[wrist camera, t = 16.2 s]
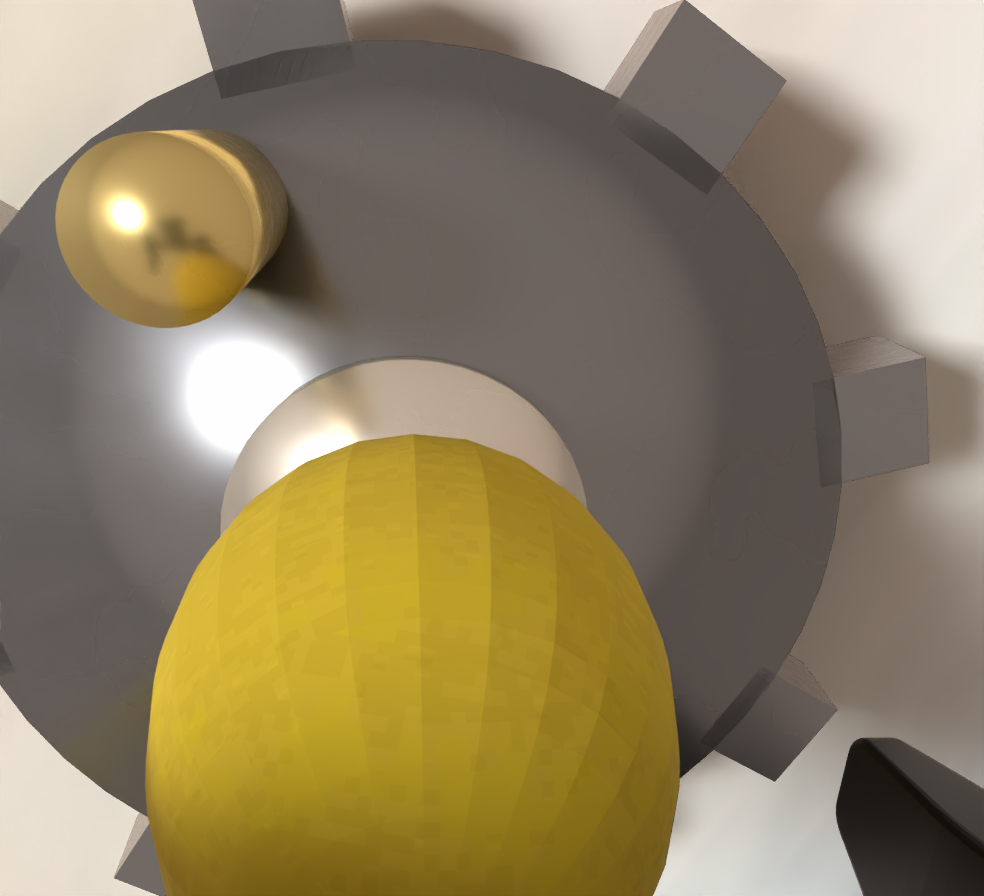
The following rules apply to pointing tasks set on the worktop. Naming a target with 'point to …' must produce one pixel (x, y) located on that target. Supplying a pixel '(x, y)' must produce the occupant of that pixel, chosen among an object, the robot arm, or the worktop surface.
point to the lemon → (413, 691)
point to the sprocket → (423, 352)
